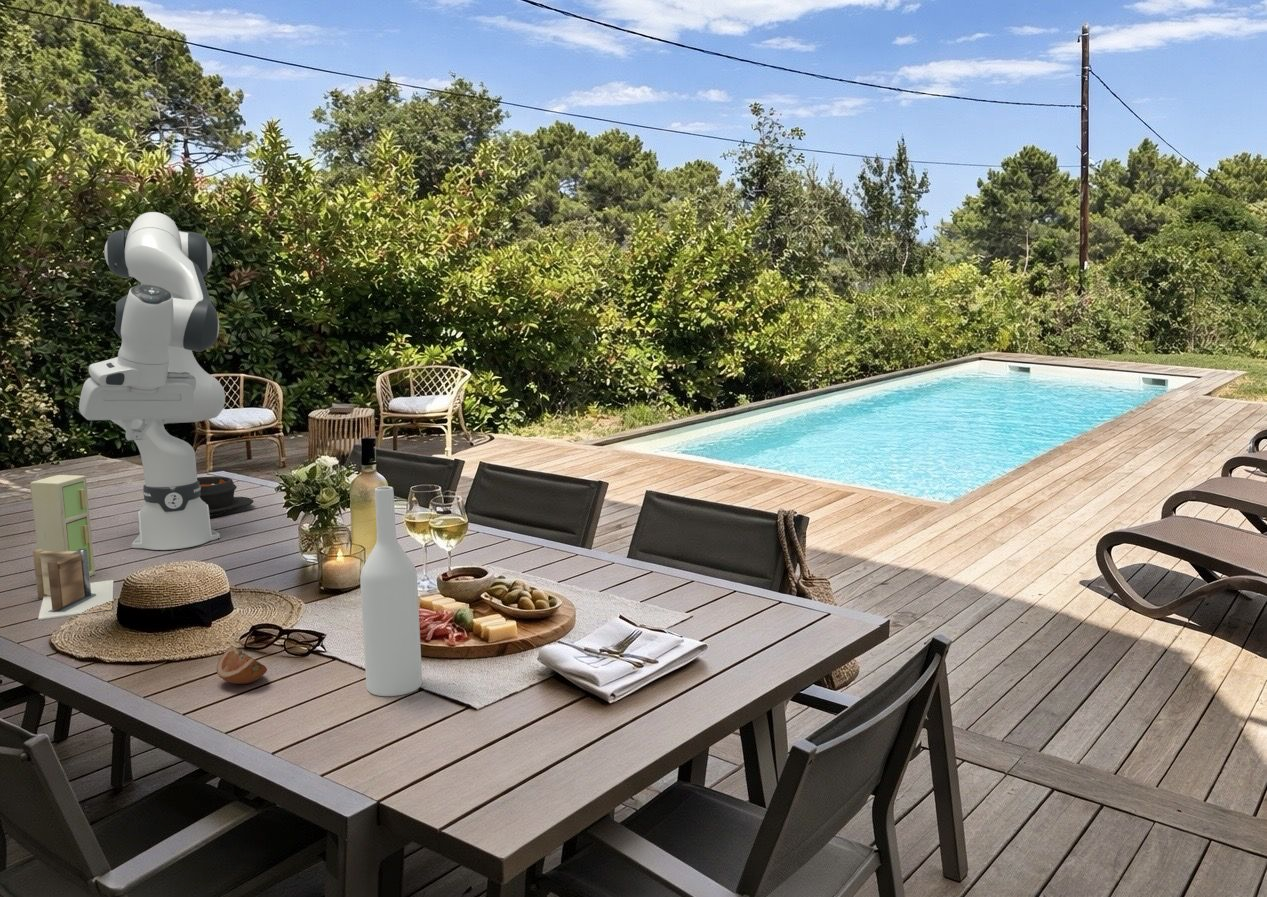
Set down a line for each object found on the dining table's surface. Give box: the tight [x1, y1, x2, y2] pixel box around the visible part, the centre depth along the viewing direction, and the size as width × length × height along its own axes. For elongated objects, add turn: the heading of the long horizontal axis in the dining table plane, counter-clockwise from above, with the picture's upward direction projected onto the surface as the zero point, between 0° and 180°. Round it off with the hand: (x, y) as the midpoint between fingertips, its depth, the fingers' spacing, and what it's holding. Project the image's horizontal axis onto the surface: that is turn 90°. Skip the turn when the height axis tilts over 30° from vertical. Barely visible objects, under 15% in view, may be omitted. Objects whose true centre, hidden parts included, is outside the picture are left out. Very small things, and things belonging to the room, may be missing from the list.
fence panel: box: [47, 554, 85, 610], centre depth 194 cm, size 8×2×9 cm, turn 175°
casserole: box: [197, 476, 254, 516], centre depth 273 cm, size 25×19×8 cm
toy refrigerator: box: [29, 474, 96, 577], centre depth 212 cm, size 8×7×21 cm
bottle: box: [359, 485, 423, 697], centre depth 152 cm, size 8×8×30 cm
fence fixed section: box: [32, 548, 91, 599], centre depth 200 cm, size 10×2×10 cm, turn 86°
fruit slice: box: [216, 644, 268, 685], centre depth 156 cm, size 8×7×5 cm
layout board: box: [37, 579, 114, 621], centre depth 199 cm, size 21×12×1 cm, turn 26°
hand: (134, 439), depth 202 cm, fingers closed
